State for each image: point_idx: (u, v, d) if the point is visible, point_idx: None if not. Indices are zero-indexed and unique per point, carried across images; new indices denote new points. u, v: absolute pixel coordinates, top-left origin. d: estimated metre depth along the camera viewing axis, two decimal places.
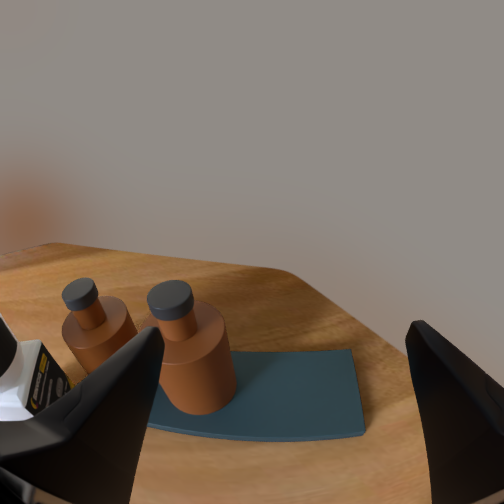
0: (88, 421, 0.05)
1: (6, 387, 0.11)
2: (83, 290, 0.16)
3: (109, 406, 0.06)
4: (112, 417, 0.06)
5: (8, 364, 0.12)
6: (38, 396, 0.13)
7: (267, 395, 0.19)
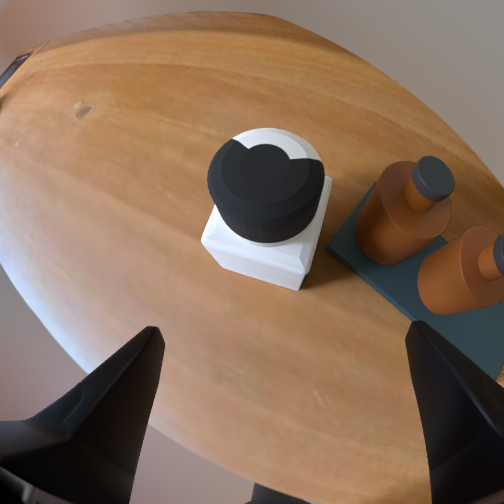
0: (88, 421, 0.05)
1: None
2: (445, 184, 0.13)
3: (109, 406, 0.06)
4: (112, 417, 0.06)
5: (309, 223, 0.15)
6: None
7: (473, 322, 0.19)
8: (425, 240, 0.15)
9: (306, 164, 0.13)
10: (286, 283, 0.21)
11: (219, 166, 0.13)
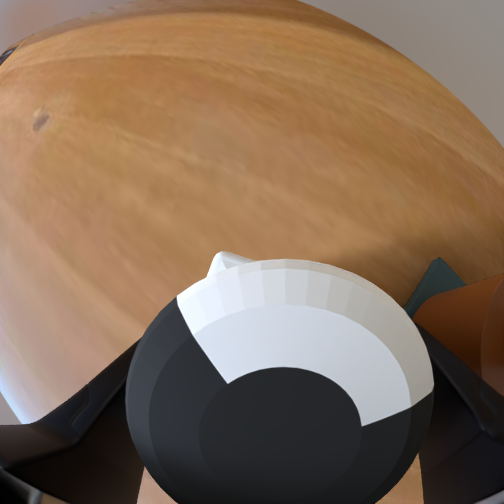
0: (96, 424, 0.05)
1: None
2: None
3: (117, 408, 0.06)
4: (120, 419, 0.06)
5: None
6: None
7: None
8: None
9: (404, 429, 0.03)
10: None
11: (145, 417, 0.04)
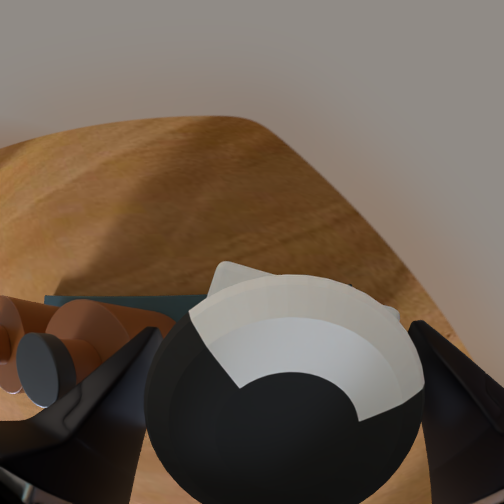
0: (88, 421, 0.05)
1: None
2: None
3: (109, 406, 0.06)
4: (112, 417, 0.06)
5: None
6: None
7: None
8: None
9: (397, 424, 0.04)
10: None
11: (164, 422, 0.04)
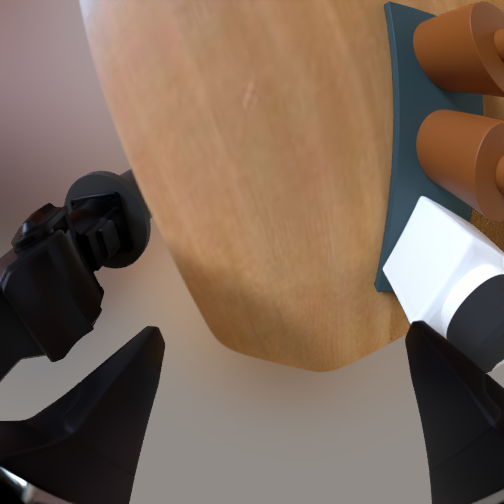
0: (88, 421, 0.05)
1: (443, 315, 0.14)
2: None
3: (109, 406, 0.06)
4: (112, 417, 0.06)
5: None
6: None
7: None
8: (482, 69, 0.07)
9: (488, 371, 0.10)
10: (397, 273, 0.18)
11: None
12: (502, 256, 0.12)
